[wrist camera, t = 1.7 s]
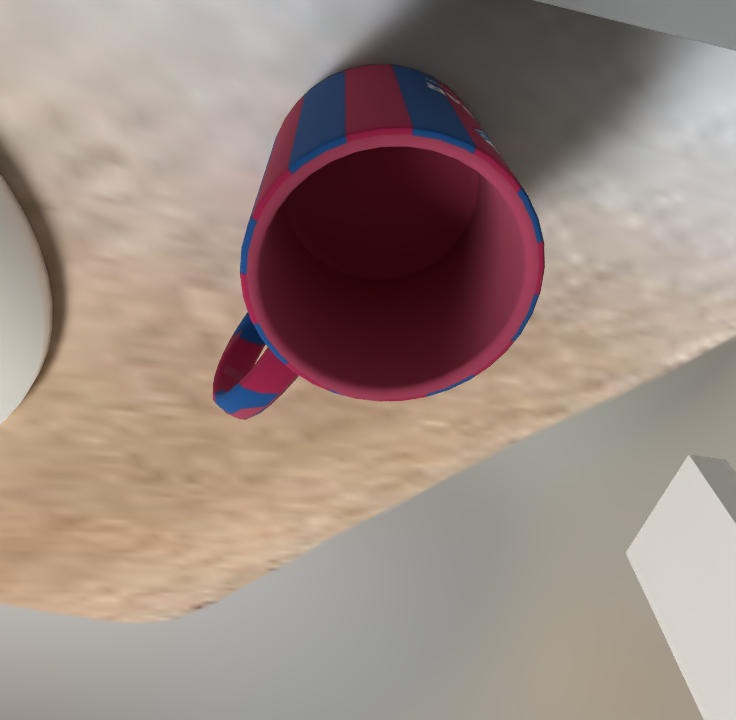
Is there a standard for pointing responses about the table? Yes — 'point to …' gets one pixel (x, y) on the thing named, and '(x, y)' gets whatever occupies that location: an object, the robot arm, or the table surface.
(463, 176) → the mug
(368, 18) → the table surface
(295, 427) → the table surface
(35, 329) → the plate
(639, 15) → the rack
